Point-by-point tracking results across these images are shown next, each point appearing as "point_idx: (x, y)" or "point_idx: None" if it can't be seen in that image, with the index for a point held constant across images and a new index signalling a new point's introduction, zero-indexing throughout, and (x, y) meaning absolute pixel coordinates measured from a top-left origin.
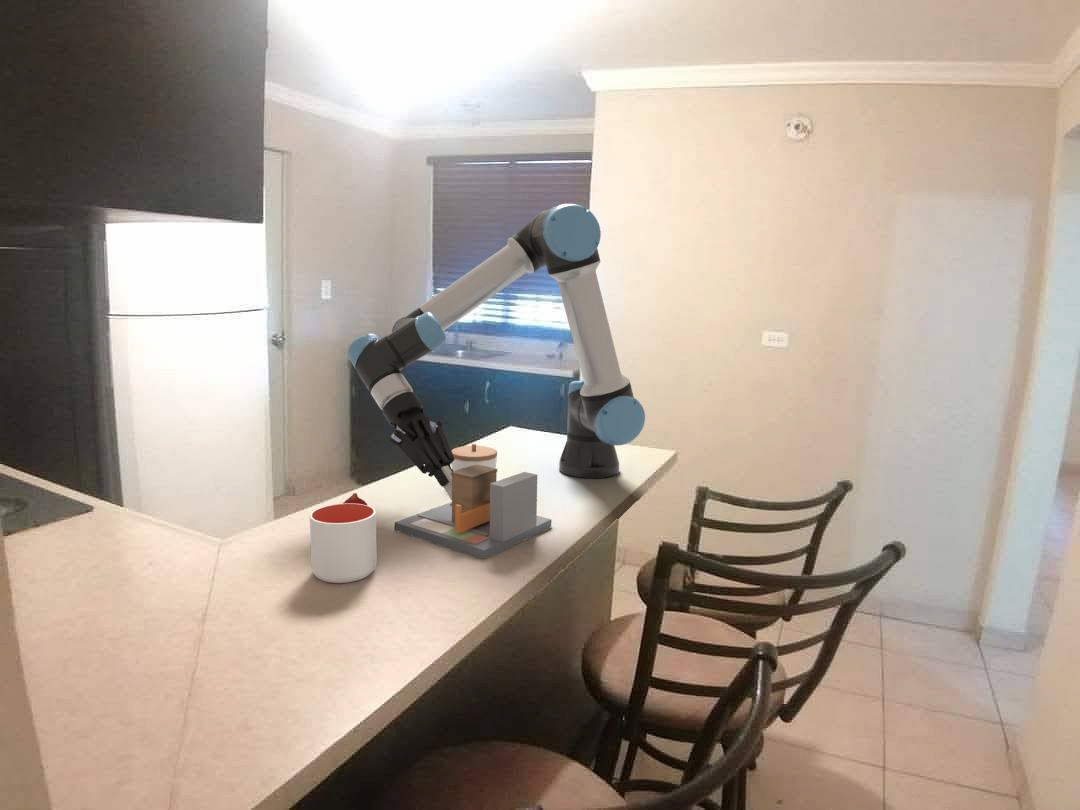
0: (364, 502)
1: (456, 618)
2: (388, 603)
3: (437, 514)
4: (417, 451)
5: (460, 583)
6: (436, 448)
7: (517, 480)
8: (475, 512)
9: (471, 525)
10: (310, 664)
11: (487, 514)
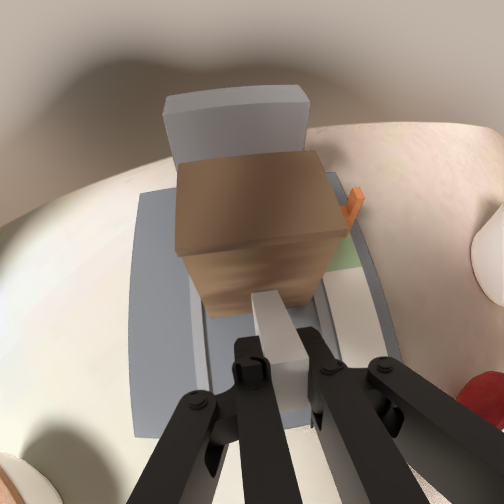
0: (493, 394)
1: (413, 134)
2: (460, 183)
3: None
4: (461, 414)
5: (390, 163)
6: (290, 467)
7: (240, 89)
8: None
9: None
10: (497, 167)
11: None
